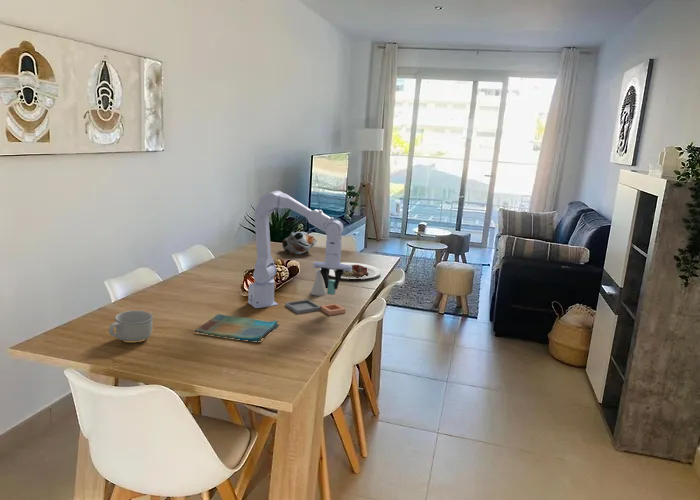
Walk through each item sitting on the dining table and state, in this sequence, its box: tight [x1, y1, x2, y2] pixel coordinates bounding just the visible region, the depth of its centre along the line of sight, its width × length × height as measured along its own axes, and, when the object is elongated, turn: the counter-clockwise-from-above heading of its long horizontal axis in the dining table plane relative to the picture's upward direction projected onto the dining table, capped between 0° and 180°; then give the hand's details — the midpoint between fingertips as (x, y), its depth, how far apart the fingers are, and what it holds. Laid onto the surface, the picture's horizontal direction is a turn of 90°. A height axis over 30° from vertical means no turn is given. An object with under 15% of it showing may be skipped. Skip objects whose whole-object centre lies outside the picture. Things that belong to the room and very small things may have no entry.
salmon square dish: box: [319, 303, 347, 316], centre depth 196 cm, size 7×7×2 cm
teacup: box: [108, 310, 154, 341], centre depth 159 cm, size 14×11×8 cm
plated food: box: [319, 261, 382, 280], centre depth 253 cm, size 30×30×3 cm
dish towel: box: [194, 314, 280, 342], centre depth 174 cm, size 17×23×2 cm
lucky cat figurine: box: [282, 231, 318, 256], centre depth 288 cm, size 17×14×16 cm
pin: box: [326, 279, 336, 296], centre depth 195 cm, size 3×3×5 cm
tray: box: [284, 299, 321, 315], centre depth 198 cm, size 10×10×2 cm
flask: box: [310, 269, 327, 297], centre depth 217 cm, size 7×7×10 cm
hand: (331, 288), depth 195 cm, fingers closed on pin, 3 cm apart
